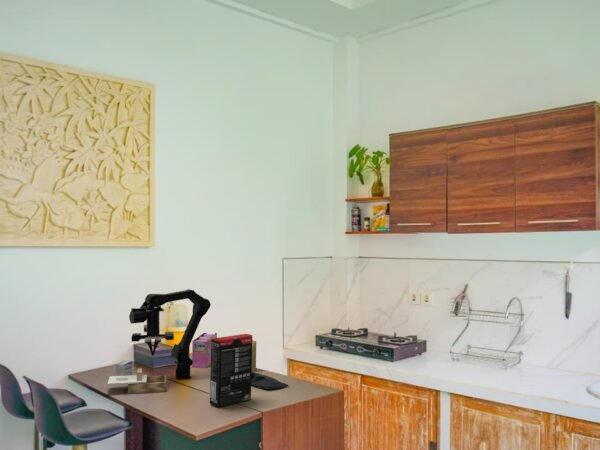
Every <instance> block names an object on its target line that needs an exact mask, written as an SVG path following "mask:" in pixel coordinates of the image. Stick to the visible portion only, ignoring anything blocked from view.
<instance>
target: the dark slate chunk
mask: <svg viewBox="0 0 600 450" xmlns="http://www.w3.org/2000/svg"><path fill="white" fill-rule="evenodd" d="M288 385H289V384H288V383H285V382H281V381H280V380H278V379H276V378H273V377H271V376H269V375H266V374H262V373H259V372H256V371H253V372H251V387H254V386H255V387H254V388H257V387H259V388H258V389H261V388H263V389H262V390H265V389H270V390H274V389H275V388H278V389H283V388H282V387H286V386H288ZM288 387H289V386H288ZM286 388H287V387H286ZM275 390H276V389H275Z"/></svg>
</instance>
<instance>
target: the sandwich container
mask: <svg viewBox="0 0 600 450" xmlns="http://www.w3.org/2000/svg"><path fill="white" fill-rule="evenodd" d="M256 371H257V340H253V339H252V372H256Z"/></svg>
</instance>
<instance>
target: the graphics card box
mask: <svg viewBox="0 0 600 450" xmlns="http://www.w3.org/2000/svg"><path fill="white" fill-rule="evenodd" d="M252 340H253V334H250V333H241V334H234V335H227V336H221V337H217V338H213V339H211V364H210V379H209V404H210V405H212V406H215V407H217V408H220V407H224V406H229V405H234V404H238V403H242V402H241V401H243V402H247V401H250V400H252V399H251V397H252V386H251V372H252ZM249 399H250V400H249ZM246 400H247V401H246ZM237 402H238V403H237ZM233 403H234V404H233Z"/></svg>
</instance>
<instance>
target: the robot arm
mask: <svg viewBox="0 0 600 450" xmlns="http://www.w3.org/2000/svg"><path fill="white" fill-rule="evenodd" d="M181 300H183V301H184V300H189V302H191V303H192V315H191V316H190V319H189V321H188V323H187V326H186V328H185V330H184V332H183V335H182V337H181V339H180V342H178V343H177V344H176V343H174V344H173V348H172V350H171V351H170V352H171V356H170V357H171V359H172V361H174V364H176V367H175V368H174V369H175V372H174V373H175V378H176V380H187V379H189V380H190V379H192V378H191V367H192V363H193V361H192V358H190V357H189V356H190V345H191V343H192V341H193V340H194V339H193V338H194V337H195V334H196V331H197V329H198V327H199V325H200V322H201V320H202V319H203V317H204V316H205V315H206V314H207V313H208V311H209V310H210V308H211V304H212V303H211V301H210V299H208V298H204V297H203V296H202V295H200V294H199V293H197V292H196V291H195V290H194V289H189V288H187V289H185V290H180V291H174V292H169V293H149V294H147V295H146V297H145V298H144V301H143V303H142V304H141V306H140V307H137V308H135V307H131V311H130V312H129V316H128V317H129V322H130V324H133V325H134V324H141V323H145V322H146V324H144V325H143V333H146V334H142V333H141V332H139V333H138V332H135V333H132V334H131V342H139V341H141V340H144V343H145V344H147V346H148V349H149V351H150V354H151V356H154V355H155V353H156V350H157V347H158V345H159V344H160V343H162V339H165V340H166V341H174V340H175V334H174V332H173V331H165V333H163V334H160V331H161V330H160V328H161V327H160V312H165V310H164V308H163V307H162V306H164V305H166V304H168V303H170V302H171V303H172V302H176V301H181ZM152 339H154V342H153V341H152ZM152 342H153V343H152Z"/></svg>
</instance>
